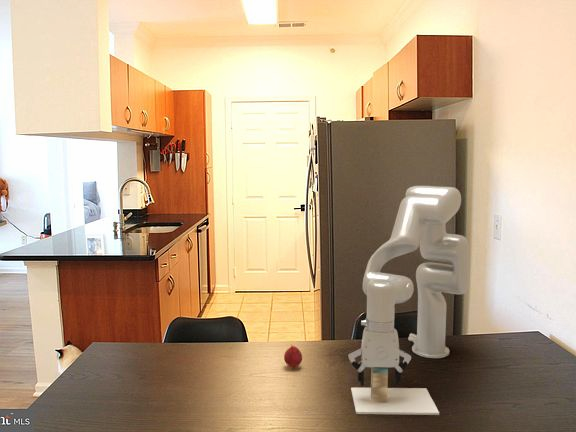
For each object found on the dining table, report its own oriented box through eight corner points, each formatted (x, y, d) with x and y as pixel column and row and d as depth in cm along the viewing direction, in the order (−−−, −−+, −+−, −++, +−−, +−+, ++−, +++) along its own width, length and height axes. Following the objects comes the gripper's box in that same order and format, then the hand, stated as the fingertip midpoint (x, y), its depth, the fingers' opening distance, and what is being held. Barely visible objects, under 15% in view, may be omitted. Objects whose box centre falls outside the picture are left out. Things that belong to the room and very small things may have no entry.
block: (372, 402, 138) (373, 368, 137) (370, 395, 142) (371, 362, 141) (387, 402, 138) (387, 368, 137) (384, 396, 142) (385, 362, 141)
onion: (304, 365, 164) (304, 342, 163) (299, 373, 159) (299, 348, 158) (287, 363, 166) (287, 340, 165) (281, 370, 161) (281, 346, 160)
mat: (356, 413, 134) (356, 411, 134) (351, 389, 148) (351, 387, 148) (439, 414, 133) (439, 412, 133) (426, 390, 147) (426, 388, 147)
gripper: (350, 329, 134) (349, 390, 136) (415, 329, 134) (413, 390, 136) (347, 320, 142) (346, 377, 144) (408, 320, 141) (407, 378, 143)
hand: (379, 384), depth 140 cm, fingers open, 9 cm apart
